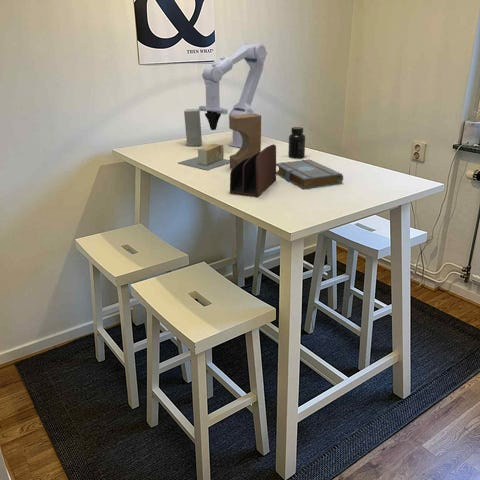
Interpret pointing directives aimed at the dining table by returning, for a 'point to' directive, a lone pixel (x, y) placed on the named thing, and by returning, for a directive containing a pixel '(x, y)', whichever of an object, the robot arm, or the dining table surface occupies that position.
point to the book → (308, 174)
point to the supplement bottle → (296, 143)
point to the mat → (194, 163)
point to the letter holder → (254, 173)
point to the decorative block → (246, 136)
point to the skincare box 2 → (210, 154)
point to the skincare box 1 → (193, 127)
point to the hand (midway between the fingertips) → (213, 129)
